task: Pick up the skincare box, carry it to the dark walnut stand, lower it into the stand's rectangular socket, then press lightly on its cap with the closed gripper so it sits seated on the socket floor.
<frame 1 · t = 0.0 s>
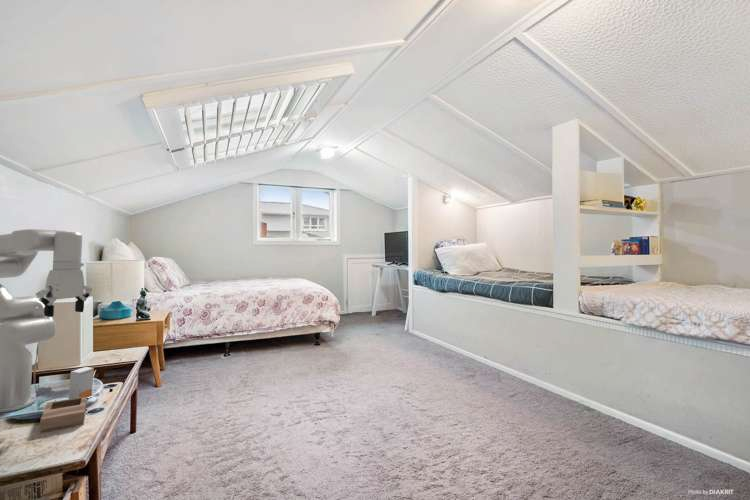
hand: (64, 314, 125), 37 cm above the table, tool pointing down, fingers open, 9 cm apart
walnut stand: (64, 419, 123), on the table
skincare box: (80, 400, 138), on the table
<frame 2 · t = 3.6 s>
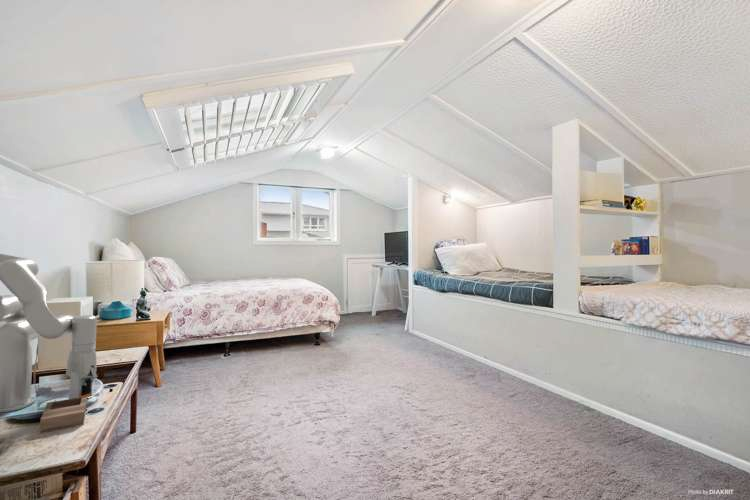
hand: (81, 392, 138), 3 cm above the table, tool pointing down, fingers closed on skincare box, 4 cm apart
skincare box: (80, 400, 138), on the table, touching gripper
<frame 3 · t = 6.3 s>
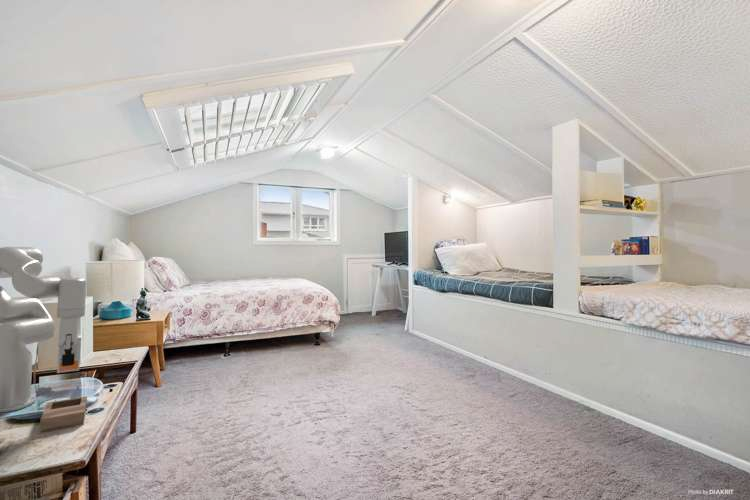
hand: (68, 362, 125), 19 cm above the table, tool pointing down, fingers closed on skincare box, 4 cm apart
skincare box: (68, 370, 126), point 16 cm above the table, touching gripper
when the fingers open (5 cm above the table, at t = 9.2 s): skincare box drops 1 cm, resting on walnut stand.
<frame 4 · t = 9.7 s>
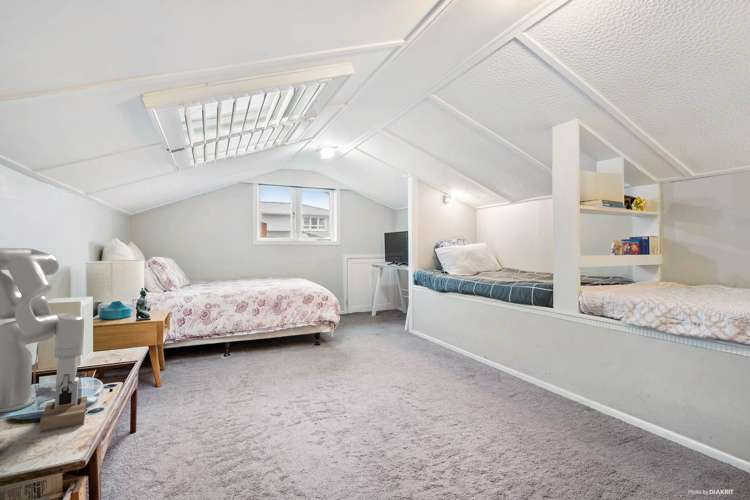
hand: (66, 399, 125), 6 cm above the table, tool pointing down, fingers open, 9 cm apart
skincare box: (65, 413, 125), point 1 cm above the table, touching walnut stand
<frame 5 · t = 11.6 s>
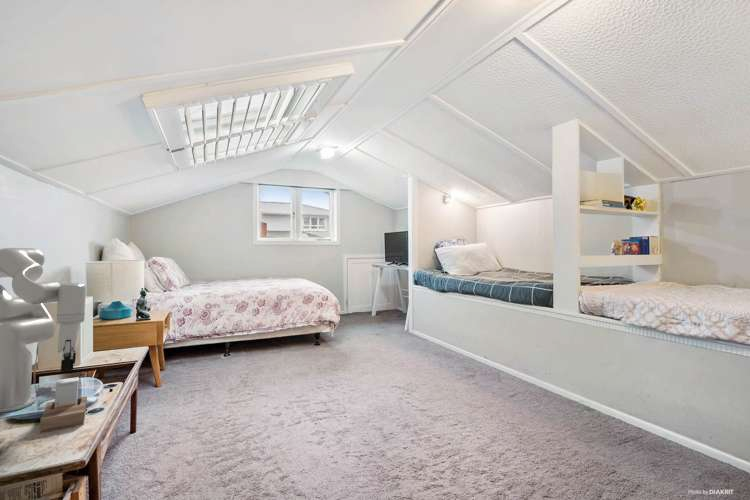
hand: (68, 366, 125), 18 cm above the table, tool pointing down, fingers open, 7 cm apart
nothing on the table moved.
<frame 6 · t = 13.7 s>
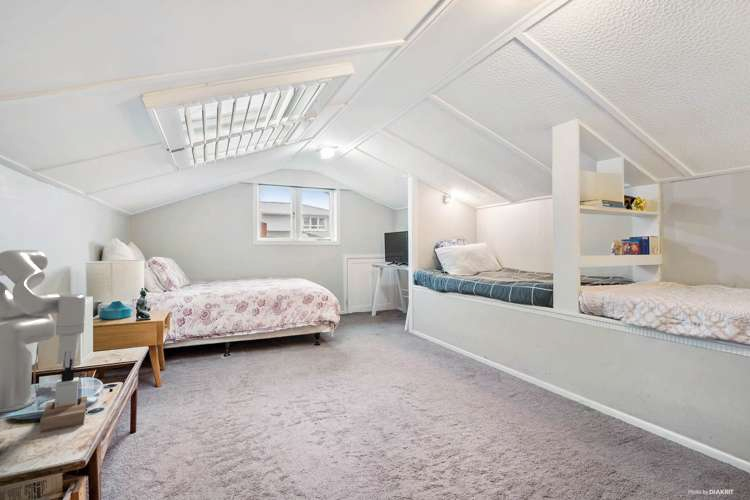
hand: (67, 380, 125), 13 cm above the table, tool pointing down, fingers closed
skincare box: (65, 413, 125), point 1 cm above the table, touching gripper, walnut stand
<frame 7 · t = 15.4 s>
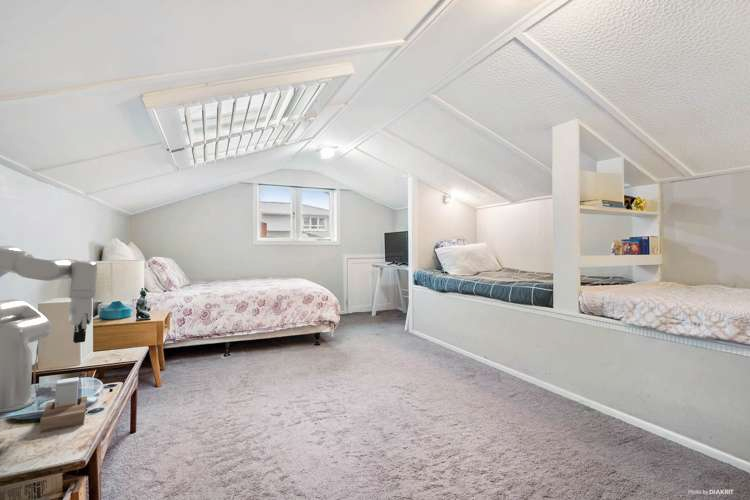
hand: (79, 341, 133), 25 cm above the table, tool pointing down, fingers closed
skincare box: (65, 413, 125), point 1 cm above the table, touching walnut stand
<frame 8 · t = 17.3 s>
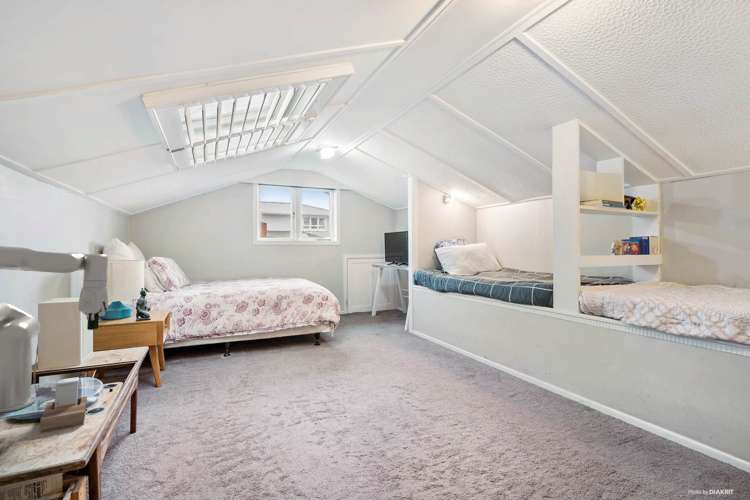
hand: (92, 329, 142), 27 cm above the table, tool pointing down, fingers closed
nothing on the table moved.
at the end: skincare box 0.1 cm from the target spot on the walnut stand, point 0.8 cm above the walnut stand's base; skincare box tilted 0°; the gripper is holding nothing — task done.
